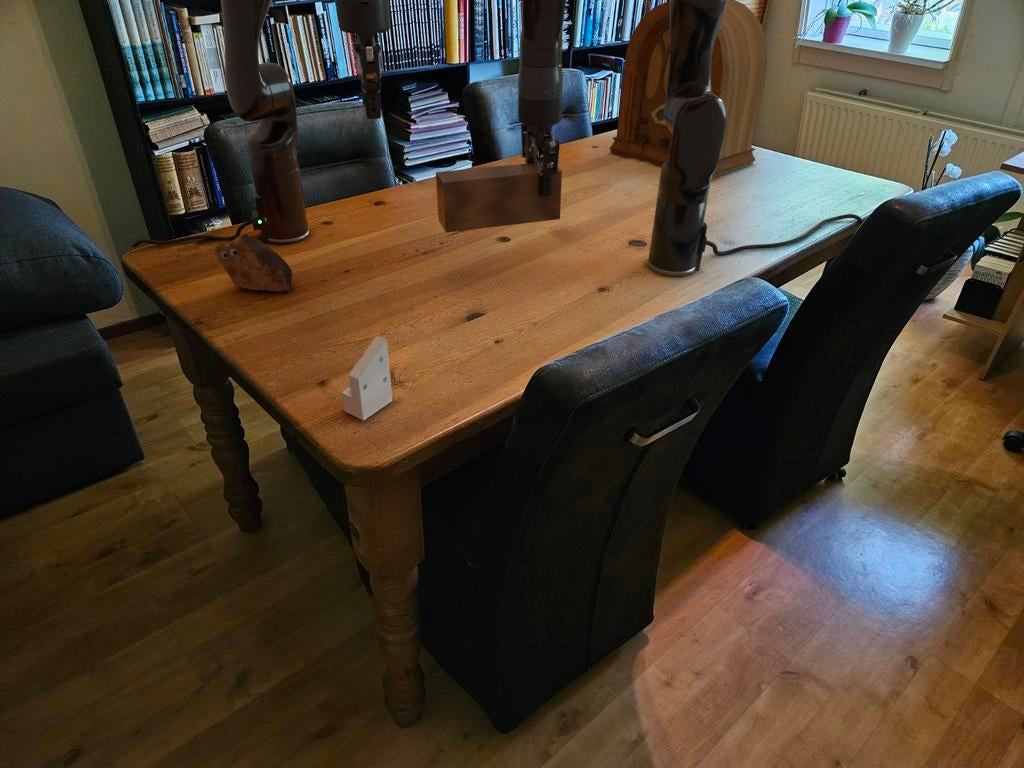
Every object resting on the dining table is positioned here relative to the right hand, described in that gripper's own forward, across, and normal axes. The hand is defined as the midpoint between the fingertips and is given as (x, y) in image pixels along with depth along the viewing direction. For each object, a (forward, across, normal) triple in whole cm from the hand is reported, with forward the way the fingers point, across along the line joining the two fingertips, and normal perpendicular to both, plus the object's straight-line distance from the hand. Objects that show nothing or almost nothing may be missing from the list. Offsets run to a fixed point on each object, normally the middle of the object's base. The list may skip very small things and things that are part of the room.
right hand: (538, 189), depth 130 cm
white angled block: (+15, -37, +38) cm, 55 cm away
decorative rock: (+14, +5, +52) cm, 54 cm away
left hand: (-16, -2, +29) cm, 33 cm away
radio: (+17, +58, -63) cm, 87 cm away
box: (+5, 0, +8) cm, 9 cm away
